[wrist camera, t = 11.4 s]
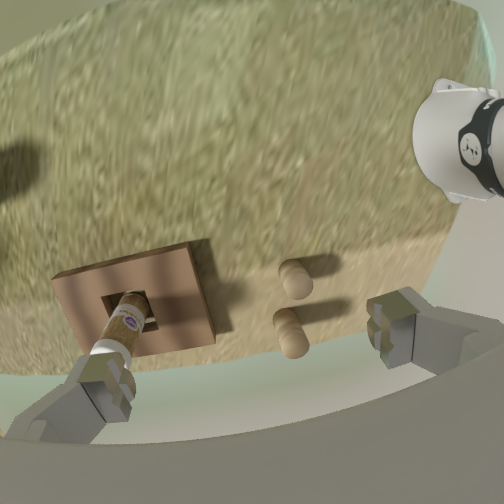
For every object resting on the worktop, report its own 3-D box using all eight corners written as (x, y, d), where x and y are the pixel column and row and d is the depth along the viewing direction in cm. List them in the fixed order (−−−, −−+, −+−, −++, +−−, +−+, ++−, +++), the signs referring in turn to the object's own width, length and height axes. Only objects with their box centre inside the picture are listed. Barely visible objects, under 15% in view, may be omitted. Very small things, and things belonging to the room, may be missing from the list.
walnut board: (188, 241, 40) (186, 247, 38) (215, 333, 45) (215, 343, 43) (57, 273, 40) (50, 280, 38) (94, 353, 45) (89, 363, 42)
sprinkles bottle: (154, 300, 43) (133, 360, 30) (143, 325, 44) (121, 387, 31) (124, 285, 42) (93, 341, 29) (114, 311, 43) (84, 370, 30)
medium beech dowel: (296, 307, 45) (310, 334, 38) (296, 328, 46) (308, 357, 39) (272, 309, 45) (282, 337, 38) (272, 330, 46) (281, 360, 39)
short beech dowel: (301, 256, 43) (311, 270, 38) (305, 279, 44) (314, 296, 39) (276, 262, 43) (283, 277, 38) (280, 285, 44) (287, 302, 39)
